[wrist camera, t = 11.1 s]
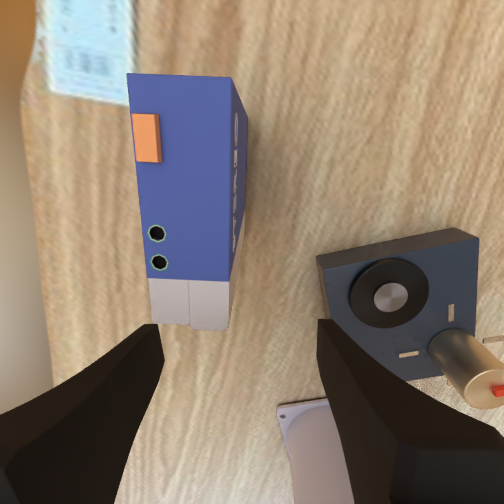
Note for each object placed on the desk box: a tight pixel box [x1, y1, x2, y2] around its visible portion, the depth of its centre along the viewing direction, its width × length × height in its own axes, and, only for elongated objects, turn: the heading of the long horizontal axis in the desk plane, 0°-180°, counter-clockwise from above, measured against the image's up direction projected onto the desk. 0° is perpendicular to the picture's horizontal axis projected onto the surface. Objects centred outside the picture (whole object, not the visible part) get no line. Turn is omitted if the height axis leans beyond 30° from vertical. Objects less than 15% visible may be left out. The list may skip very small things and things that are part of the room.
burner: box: [348, 258, 429, 328], centre depth 19 cm, size 5×5×1 cm
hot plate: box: [316, 228, 504, 386], centre depth 22 cm, size 12×12×3 cm
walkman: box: [127, 73, 248, 331], centre depth 14 cm, size 8×3×12 cm, turn 178°
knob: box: [428, 329, 504, 409], centre depth 19 cm, size 3×3×4 cm
